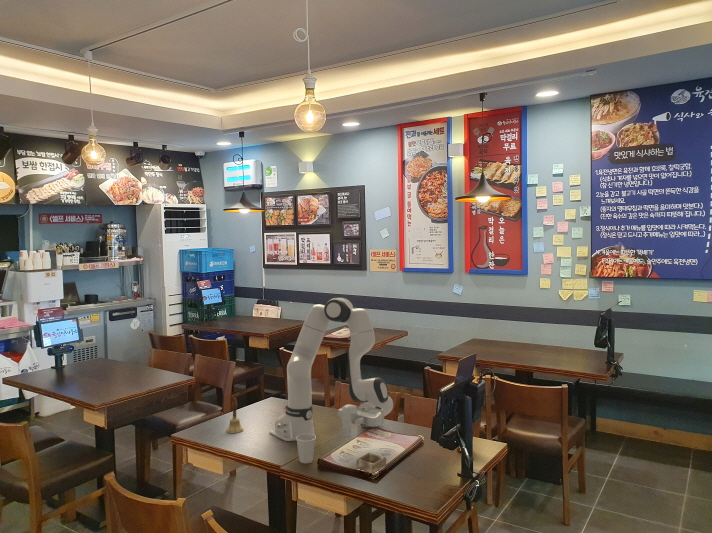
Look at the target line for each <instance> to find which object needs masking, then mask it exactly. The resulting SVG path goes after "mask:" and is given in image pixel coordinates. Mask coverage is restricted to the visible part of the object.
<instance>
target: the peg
mask: <svg viewBox="0 0 712 533" xmlns="http://www.w3.org/2000/svg"><path fill="white" fill-rule="evenodd" d="M341 408H342V418H341V423H342V426H341V428H342V431H341V436H342V438H343V439H347V440H353V439H355V438H357V437H358V424H353V420H354V419H357V408H358V405H355V404H350V403H348V404H345V405H342V407H341Z"/></svg>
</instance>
